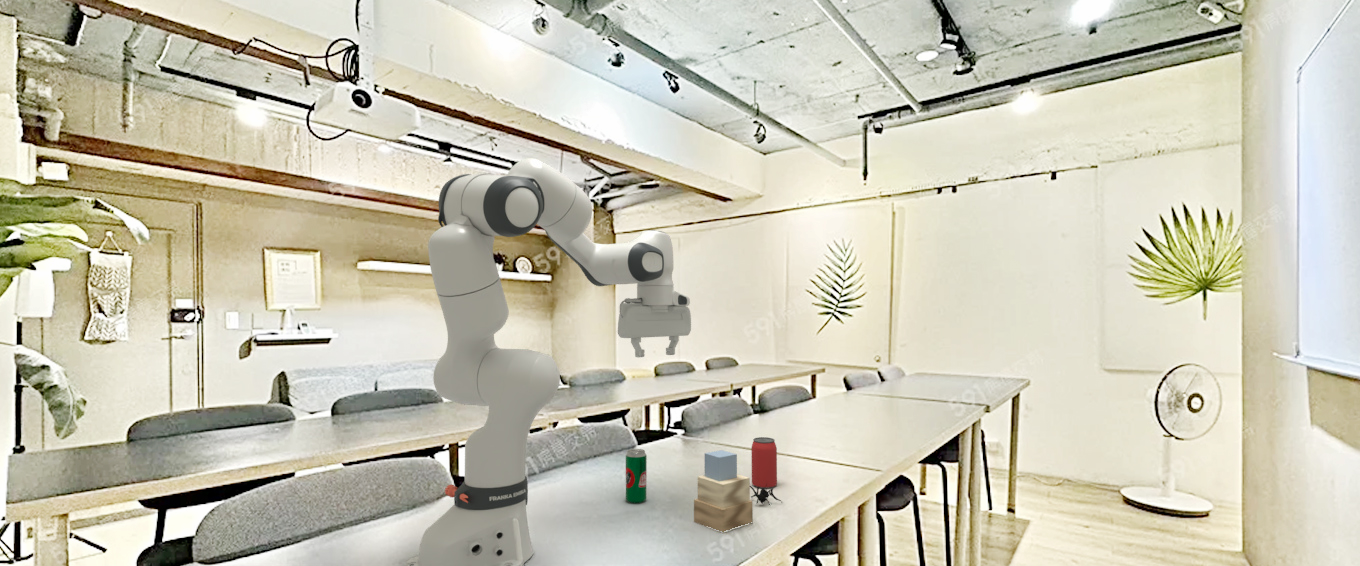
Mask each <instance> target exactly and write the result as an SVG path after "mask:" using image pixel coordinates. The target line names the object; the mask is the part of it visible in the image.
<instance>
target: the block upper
mask: <svg viewBox="0 0 1360 566" xmlns="http://www.w3.org/2000/svg"><path fill="white" fill-rule="evenodd" d="M750 482H751V481H750V477H747V476H745V475H741V474H738V473H737V478H732V479H728V480H723V481H717V480H714V479H711V478H708V477H705V474H703V475H698V476H697V499H698V500H699V501H702V502H705V503H708V504H711V505H713V506H716V507H719V508H722V509H725V508H728V507H732V506H735V505H738V504H742V503H745V502H748V501H750V500H751V496H750V495H751V494H750V493H751V491H750V489H751V487H750V486H751V485H750Z"/></svg>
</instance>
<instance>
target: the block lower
mask: <svg viewBox="0 0 1360 566" xmlns="http://www.w3.org/2000/svg"><path fill="white" fill-rule="evenodd" d="M753 505H754V504H753V500H751V499H750V501H748V502H745V503H742V504H738V505H735V506H732V507H728V508H725V509H722V508H719V507H716V506H713V505H711V504H708V503H705V502H702V501H699V500H698V498H695V499H693V523H696V524H698V523H699V525H701V526H703V525H704V526H703V527H706V526H708V527H711V528H713V529H716V530H719V531H722V532H724V531H726V530H730V529H732V528H735V527H738V526H741V525H745V524H748V523H751V522H753V519H754V518H753V517H754V515H753ZM708 527H707V528H708ZM711 528H710V529H711ZM713 529H712V530H713ZM716 530H715V531H716Z"/></svg>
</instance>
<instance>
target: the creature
mask: <svg viewBox="0 0 1360 566" xmlns="http://www.w3.org/2000/svg"><path fill="white" fill-rule="evenodd" d="M766 486H767V483H766ZM750 489H751V490H752V491H753V493H754V494H753V495H751V496H750V499H751V498H752V499H753V498H754V497H756V498H757V500H756V504H757V503H759V502H760V504H761V505H763V504H764V503H765V502H766V501H767V503H768V506H769V505H770V504H771V503H770V501H769V500H768V498H769V497H770V496H771V497H772V498H773V499H775V500H776V501H778V502H780V503H781V504H783V501H782V500H781V499H779V498H777V497H776V496H775V495H774V493H773V491H774V487H773V488H769V490H768V491H767V488H766V487H765V488H759V486H758V487H756V490H755V488H754V487H753V486H752V485H750ZM759 489H760V492H759ZM770 506H771V505H770Z"/></svg>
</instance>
